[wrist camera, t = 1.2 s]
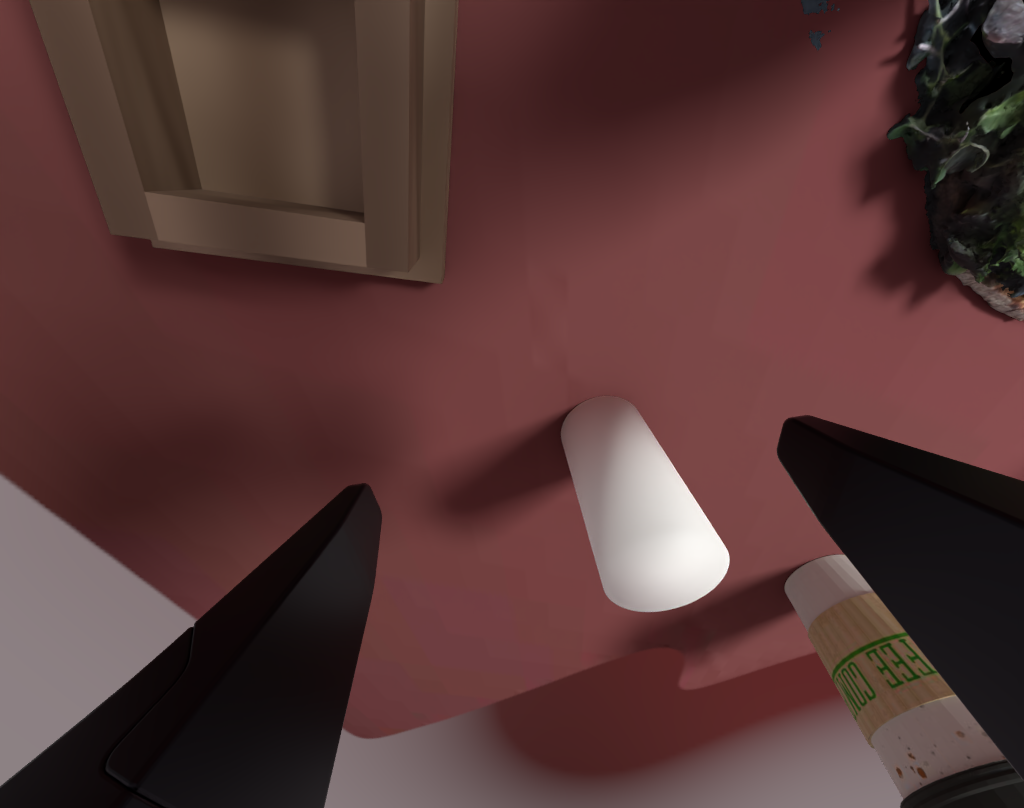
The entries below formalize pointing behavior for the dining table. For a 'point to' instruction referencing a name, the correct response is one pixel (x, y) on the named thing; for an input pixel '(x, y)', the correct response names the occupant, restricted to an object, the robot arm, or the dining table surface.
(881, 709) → the coffee cup
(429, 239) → the holder
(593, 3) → the dining table surface
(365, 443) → the dining table surface
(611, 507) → the white tapered cylinder
